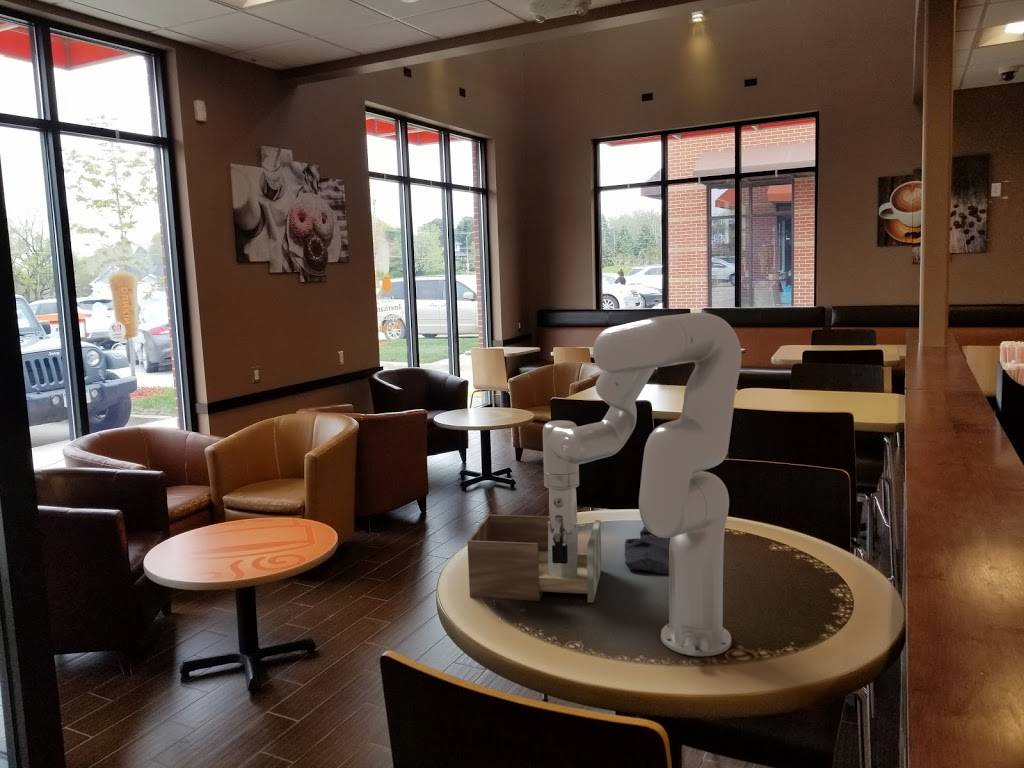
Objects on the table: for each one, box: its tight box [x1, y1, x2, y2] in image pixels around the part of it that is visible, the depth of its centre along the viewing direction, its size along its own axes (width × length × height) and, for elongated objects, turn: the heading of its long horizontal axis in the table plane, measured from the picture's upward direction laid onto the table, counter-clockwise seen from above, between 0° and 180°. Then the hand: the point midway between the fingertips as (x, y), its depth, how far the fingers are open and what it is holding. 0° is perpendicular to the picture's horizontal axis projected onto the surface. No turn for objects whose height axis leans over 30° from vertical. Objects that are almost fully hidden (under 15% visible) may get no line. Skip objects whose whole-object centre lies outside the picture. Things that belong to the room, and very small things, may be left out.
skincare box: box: [548, 520, 579, 578], centre depth 165 cm, size 6×4×12 cm
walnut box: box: [466, 513, 550, 602], centre depth 168 cm, size 18×15×12 cm
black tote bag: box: [624, 526, 671, 576], centre depth 181 cm, size 15×22×5 cm
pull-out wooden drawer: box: [538, 519, 602, 604], centre depth 166 cm, size 18×15×12 cm
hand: (563, 554), depth 166 cm, fingers open, 9 cm apart
